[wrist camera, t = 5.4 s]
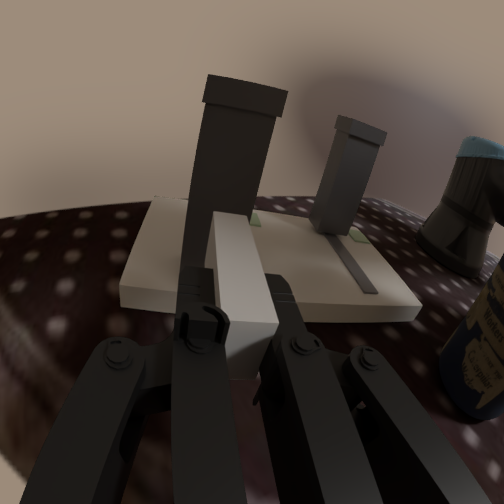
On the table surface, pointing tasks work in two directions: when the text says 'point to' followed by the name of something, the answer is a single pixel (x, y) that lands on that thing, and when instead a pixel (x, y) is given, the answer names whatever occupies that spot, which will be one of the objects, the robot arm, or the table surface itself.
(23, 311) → the table surface
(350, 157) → the switch
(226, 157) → the switch
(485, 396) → the canister
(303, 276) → the switch board
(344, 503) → the robot arm
